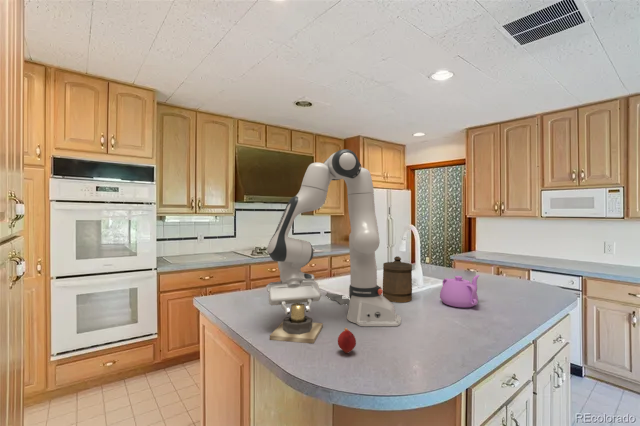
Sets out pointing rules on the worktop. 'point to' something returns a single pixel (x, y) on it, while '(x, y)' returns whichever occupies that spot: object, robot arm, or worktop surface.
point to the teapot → (459, 292)
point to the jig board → (297, 331)
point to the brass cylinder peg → (297, 313)
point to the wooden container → (397, 281)
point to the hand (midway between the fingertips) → (298, 312)
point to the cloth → (338, 298)
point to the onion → (346, 341)
